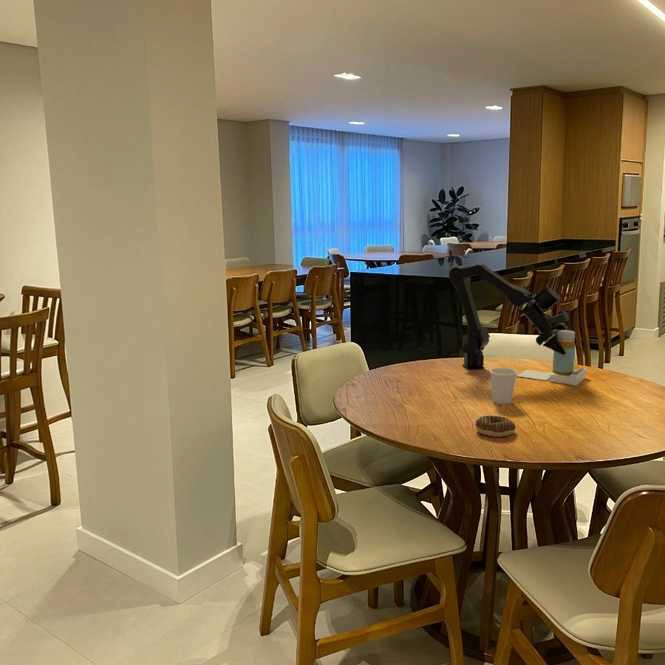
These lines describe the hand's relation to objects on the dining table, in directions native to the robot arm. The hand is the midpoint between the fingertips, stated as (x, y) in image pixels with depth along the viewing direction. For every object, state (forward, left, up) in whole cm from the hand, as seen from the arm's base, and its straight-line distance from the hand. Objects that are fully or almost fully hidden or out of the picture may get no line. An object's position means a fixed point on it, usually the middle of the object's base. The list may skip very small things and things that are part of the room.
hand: (567, 352), depth 230 cm
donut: (-49, -45, -10) cm, 67 cm away
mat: (-7, +8, -10) cm, 15 cm away
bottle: (-1, +1, -8) cm, 8 cm away
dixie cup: (-34, -19, -10) cm, 40 cm away
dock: (0, 0, -10) cm, 10 cm away
